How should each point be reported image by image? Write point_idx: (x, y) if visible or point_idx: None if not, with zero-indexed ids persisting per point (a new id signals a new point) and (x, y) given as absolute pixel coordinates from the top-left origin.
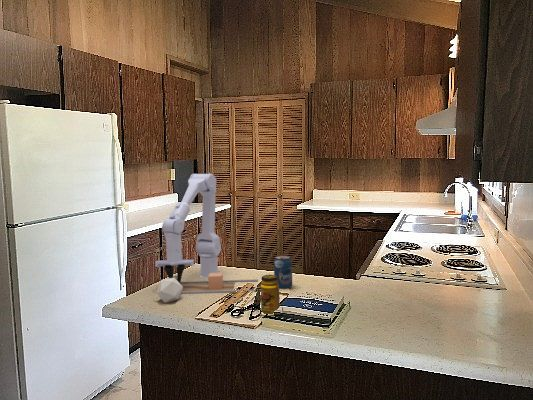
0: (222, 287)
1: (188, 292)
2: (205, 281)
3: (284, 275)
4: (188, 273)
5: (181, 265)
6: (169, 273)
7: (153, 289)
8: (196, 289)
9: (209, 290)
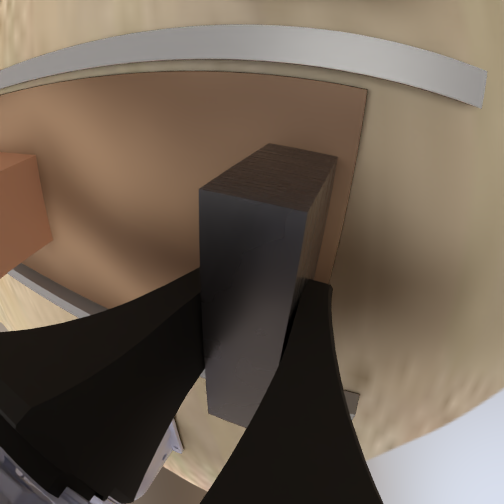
0: None
1: (120, 36)
2: (88, 312)
3: None
4: None
5: (7, 443)
6: (294, 421)
7: (498, 341)
8: (95, 168)
9: (27, 127)
